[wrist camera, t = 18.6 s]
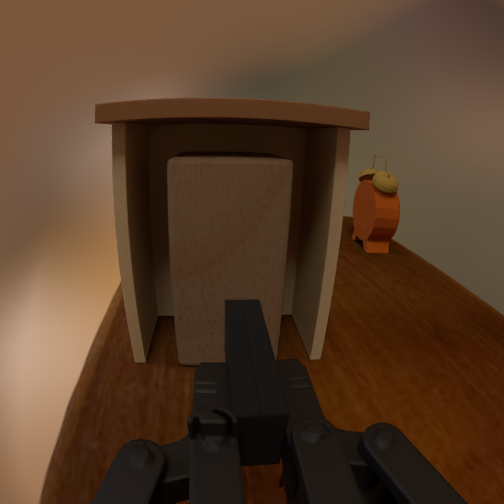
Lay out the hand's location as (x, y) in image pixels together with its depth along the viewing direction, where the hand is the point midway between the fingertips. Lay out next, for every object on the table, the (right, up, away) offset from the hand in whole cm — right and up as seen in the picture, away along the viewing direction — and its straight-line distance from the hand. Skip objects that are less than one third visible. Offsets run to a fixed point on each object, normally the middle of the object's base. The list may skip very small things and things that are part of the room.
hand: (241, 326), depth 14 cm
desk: (-2, -6, +21) cm, 23 cm away
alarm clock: (+27, +5, +56) cm, 62 cm away
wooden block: (-2, -7, +21) cm, 23 cm away
